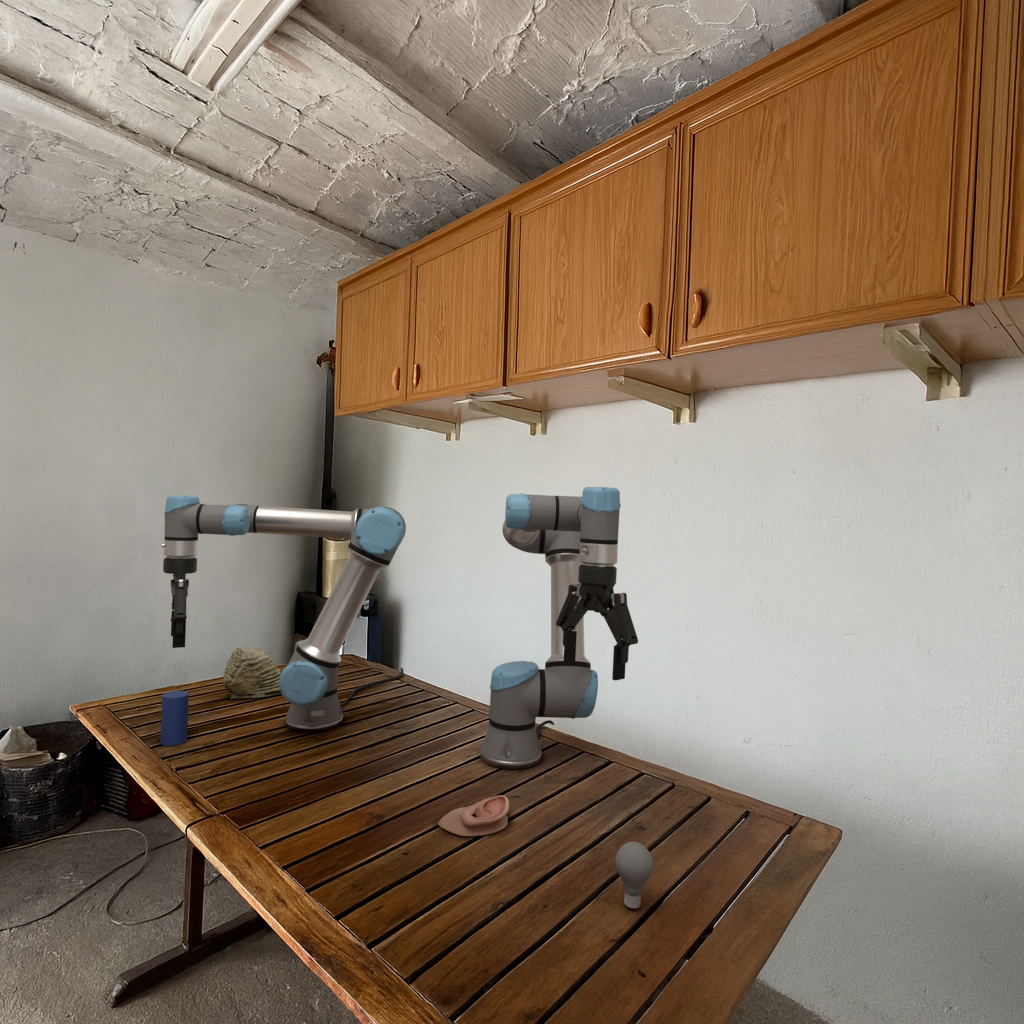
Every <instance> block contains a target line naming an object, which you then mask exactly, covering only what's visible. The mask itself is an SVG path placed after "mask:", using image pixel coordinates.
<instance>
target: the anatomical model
mask: <svg viewBox="0 0 1024 1024" xmlns="http://www.w3.org/2000/svg"><path fill="white" fill-rule="evenodd" d="M509 810H510V801H509V798H508V797H507V796H506V795H504V794H502V795H501V794H500V795H495V796H491V797H488V798H485V799H482V800H481V801H478V802H476V803H474V804H472V805H469V806H466V807H464V806H463V807H459V808H455V809H453V810H450V811H449V812H447V813H446V814H445V815H444V816H442V817H441V818H440V819H439V821H438V822H437V825H438V826H439V827H440V828H442V829H443V830H445V831H447V832H448V833H451V834H454V835H457V836H460V837H478V836H485V835H490V834H495V833H497V832H500V831H502V830H504V829H505V828H506V827H507V826H508V824H509V823H508V822H509V821H508V820H509V819H508V813H509Z"/></svg>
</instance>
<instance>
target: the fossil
mask: <svg viewBox="0 0 1024 1024" xmlns="http://www.w3.org/2000/svg"><path fill="white" fill-rule="evenodd" d="M281 673H282V671H281V669H279V668H278V667H277V665H276V663H275V662H274V660H273V659H272V658H271V657H270V656H269V655H268V654H267V653H266V652H265V650H264V649H263V648H260V647H258V648H251V647H247V646H246V647H245V646H238V647H237V648H236V649H235V650H233V651H232V653H231V656H230V657H229V659H228V660H227V663H226V666H225V668H224V671H223V675H222V676H223V677H222V685H223V687H224V688H225V690H226V691H228V693H229V698H230V699H250V698H264V697H271V696H275V695H281V694H282V693H281V691H280V688H279V679H280V675H281Z"/></svg>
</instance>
